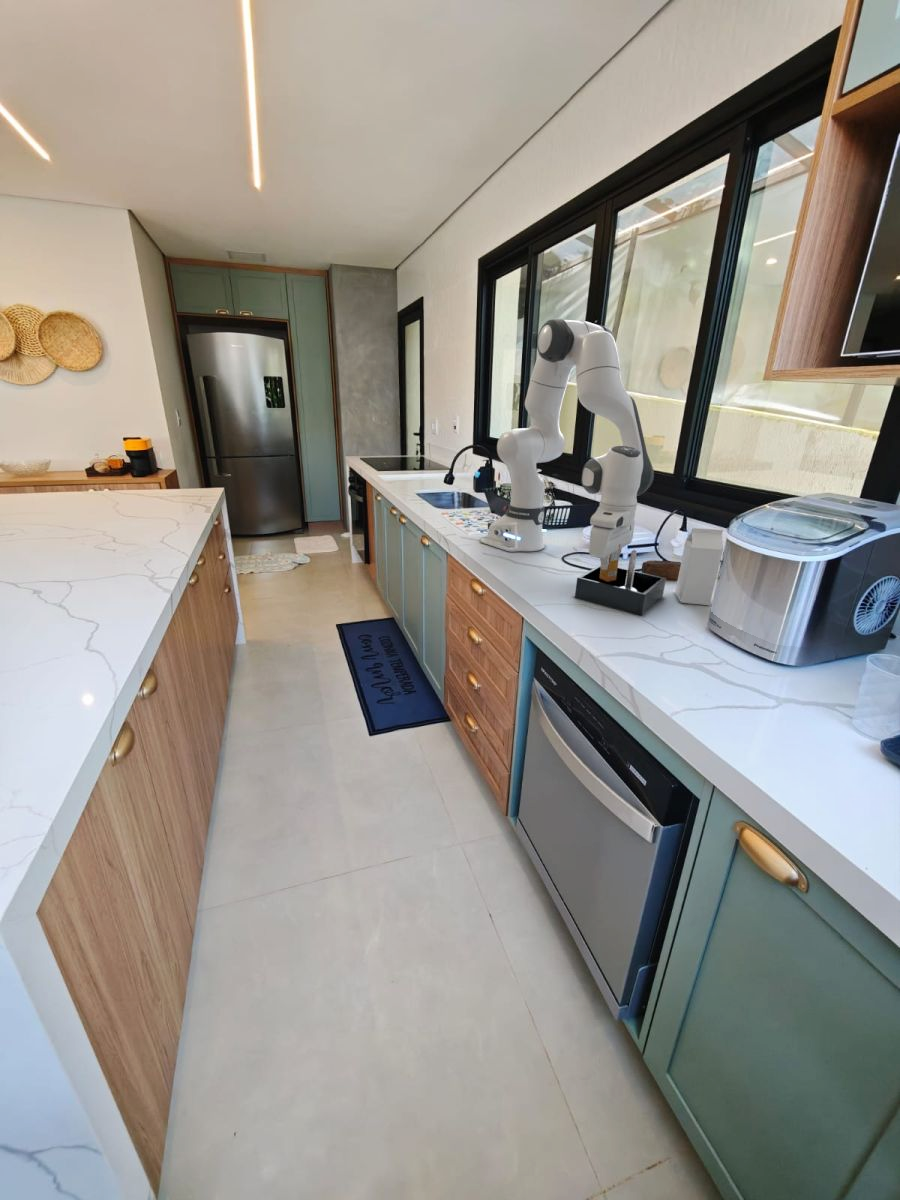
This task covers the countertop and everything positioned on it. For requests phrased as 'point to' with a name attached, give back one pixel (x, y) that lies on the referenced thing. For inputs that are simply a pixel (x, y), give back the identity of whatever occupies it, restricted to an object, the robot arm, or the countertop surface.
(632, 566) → the screw
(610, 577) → the supplement box
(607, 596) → the grey storage bin
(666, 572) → the brick
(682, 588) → the milk carton
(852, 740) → the countertop surface
